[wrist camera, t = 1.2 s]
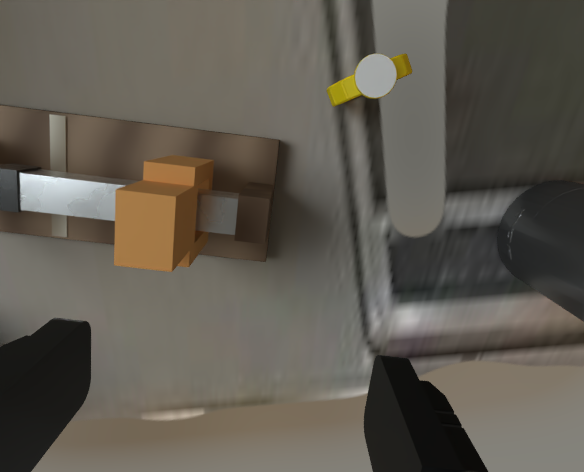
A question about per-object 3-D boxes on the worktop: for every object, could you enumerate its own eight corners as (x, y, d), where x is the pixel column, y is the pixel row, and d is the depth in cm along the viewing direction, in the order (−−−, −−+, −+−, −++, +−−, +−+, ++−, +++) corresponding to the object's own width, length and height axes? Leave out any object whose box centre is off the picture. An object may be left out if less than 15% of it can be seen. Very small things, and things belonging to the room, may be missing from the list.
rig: (279, 139, 34) (274, 144, 24) (266, 256, 36) (256, 306, 26) (-21, 102, 33) (-159, 90, 23) (-14, 224, 36) (-135, 262, 25)
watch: (334, 116, 34) (337, 116, 28) (322, 82, 33) (322, 75, 27) (406, 85, 33) (424, 78, 27) (394, 50, 32) (411, 36, 27)
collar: (214, 160, 30) (177, 174, 21) (207, 241, 32) (170, 291, 22) (172, 154, 30) (115, 167, 21) (168, 236, 32) (113, 285, 22)
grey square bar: (243, 191, 29) (238, 197, 27) (239, 228, 30) (234, 237, 27) (-48, 156, 29) (-81, 158, 26) (-44, 194, 29) (-77, 201, 27)
